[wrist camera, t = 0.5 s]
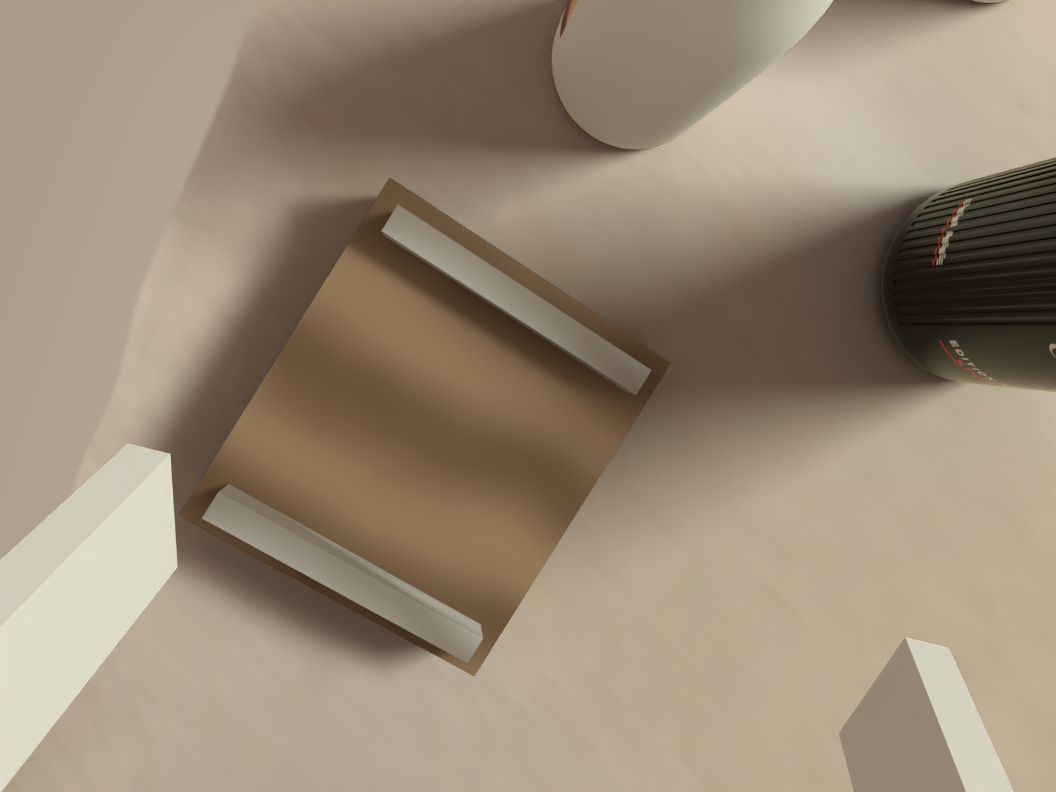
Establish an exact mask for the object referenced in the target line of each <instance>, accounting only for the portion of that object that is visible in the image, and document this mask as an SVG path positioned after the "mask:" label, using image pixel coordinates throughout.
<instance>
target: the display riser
mask: <svg viewBox="0 0 1056 792" xmlns="http://www.w3.org/2000/svg"><path fill="white" fill-rule="evenodd" d="M670 364H671V362H669V361H667V360H666V359H664V358H663V357H661V356H660V355H658V354H657V353H655V352H654V351H652V350H651V349H649V348H648V347H646V346H645V345H643V344H642V343H640V342H639V341H637V340H636V339H634V338H633V337H631V336H630V335H628V334H627V333H625V332H623V331H622V330H620V329H619V328H617V327H616V326H614V325H613V324H611V323H610V322H608V321H607V320H605V319H604V318H602V317H601V316H599V315H598V314H596V313H595V312H593V311H592V310H590V309H589V308H587V307H586V306H584V305H583V304H581V303H579V302H578V301H576V300H575V299H573V298H572V297H570V296H569V295H567V294H566V293H564V292H563V291H561V290H560V289H558V288H557V287H555V286H554V285H552V284H551V283H549V282H548V281H546V280H545V279H543V278H542V277H540V276H539V275H537V274H535V273H534V272H532V271H531V270H529V269H528V268H526V267H525V266H523V265H522V264H520V263H519V262H517V261H516V260H514V259H513V258H511V257H510V256H508V255H507V254H505V253H504V252H502V251H501V250H499V249H498V248H496V247H495V246H493V245H492V244H490V243H488V242H487V241H485V240H484V239H482V238H481V237H479V236H478V235H476V234H475V233H473V232H472V231H470V230H469V229H467V228H466V227H464V226H463V225H461V224H460V223H458V222H457V221H455V220H454V219H452V218H451V217H449V216H448V215H446V214H444V213H443V212H441V211H440V210H438V209H437V208H435V207H434V206H432V205H431V204H429V203H428V202H426V201H425V200H423V199H422V198H420V197H419V196H417V195H416V194H414V193H413V192H411V191H410V190H408V189H407V188H405V187H404V186H402V185H400V184H399V183H397V182H396V181H394V180H393V179H391V178H389V179H388V181H387V183H386V184H385V186H384V187H383V189H382V191H381V192H380V194H379V195H378V197H377V199H376V200H375V202H374V203H373V205H372V207H371V208H370V210H369V211H368V213H367V215H366V216H365V218H364V219H363V221H362V223H361V224H360V226H359V227H358V229H357V231H356V232H355V234H354V236H353V237H352V239H351V240H350V242H349V244H348V245H347V247H346V248H345V250H344V252H343V253H342V255H341V256H340V258H339V260H338V261H337V263H336V264H335V266H334V268H333V269H332V271H331V272H330V274H329V276H328V277H327V279H326V280H325V282H324V284H323V285H322V287H321V288H320V290H319V292H318V293H317V295H316V296H315V298H314V300H313V301H312V303H311V304H310V306H309V308H308V309H307V311H306V312H305V314H304V316H303V317H302V319H301V320H300V322H299V324H298V325H297V327H296V328H295V330H294V332H293V333H292V335H291V336H290V338H289V340H288V341H287V343H286V344H285V346H284V348H283V349H282V351H281V352H280V354H279V356H278V357H277V359H276V360H275V362H274V364H273V365H272V367H271V368H270V370H269V372H268V373H267V375H266V376H265V378H264V380H263V381H262V383H261V384H260V386H259V388H258V389H257V391H256V392H255V394H254V396H253V397H252V399H251V400H250V402H249V404H248V405H247V407H246V408H245V410H244V412H243V413H242V415H241V416H240V418H239V420H238V421H237V423H236V424H235V426H234V428H233V429H232V431H231V432H230V434H229V436H228V437H227V439H226V440H225V442H224V444H223V445H222V447H221V448H220V450H219V452H218V453H217V455H216V456H215V458H214V460H213V461H212V463H211V465H210V466H209V468H208V469H207V471H206V473H205V474H204V476H203V477H202V479H201V481H200V482H199V484H198V485H197V487H196V489H195V490H194V492H193V493H192V495H191V497H190V498H189V500H188V501H187V503H186V505H185V506H184V508H183V509H182V511H181V513H180V514H179V516H180V517H182V518H184V519H186V520H188V521H190V522H192V523H193V524H195V525H197V526H199V527H201V528H203V529H204V530H206V531H208V532H210V533H212V534H214V535H215V536H217V537H219V538H221V539H223V540H225V541H226V542H228V543H230V544H232V545H234V546H236V547H237V548H239V549H241V550H243V551H245V552H247V553H249V554H250V555H252V556H254V557H256V558H258V559H260V560H261V561H263V562H265V563H267V564H269V565H271V566H272V567H274V568H276V569H278V570H280V571H282V572H283V573H285V574H287V575H289V576H291V577H293V578H295V579H296V580H298V581H300V582H302V583H304V584H306V585H307V586H309V587H311V588H313V589H315V590H317V591H318V592H320V593H322V594H324V595H326V596H328V597H329V598H331V599H333V600H335V601H337V602H339V603H341V604H342V605H344V606H346V607H348V608H350V609H352V610H353V611H355V612H357V613H359V614H361V615H363V616H364V617H366V618H368V619H370V620H372V621H374V622H375V623H377V624H379V625H381V626H383V627H385V628H387V629H388V630H390V631H392V632H394V633H396V634H398V635H399V636H401V637H403V638H405V639H407V640H409V641H410V642H412V643H414V644H416V645H418V646H420V647H421V648H423V649H425V650H427V651H429V652H431V653H433V654H434V655H436V656H438V657H440V658H442V659H444V660H445V661H447V662H449V663H451V664H453V665H455V666H456V667H458V668H460V669H462V670H464V671H466V672H467V673H469V674H471V675H473V676H475V674H476V673H477V671H478V670H479V668H480V666H481V665H482V663H483V662H484V660H485V658H486V657H487V655H488V654H489V652H490V650H491V649H492V647H493V646H494V644H495V642H496V641H497V639H498V638H499V636H500V634H501V633H502V631H503V630H504V628H505V626H506V625H507V623H508V622H509V620H510V619H511V617H512V615H513V614H514V612H515V611H516V609H517V607H518V606H519V604H520V603H521V601H522V599H523V598H524V596H525V595H526V593H527V591H528V590H529V588H530V587H531V585H532V583H533V582H534V580H535V579H536V577H537V575H538V574H539V572H540V571H541V569H542V568H543V566H544V564H545V563H546V561H547V560H548V558H549V556H550V555H551V553H552V552H553V550H554V548H555V547H556V545H557V544H558V542H559V540H560V539H561V537H562V536H563V534H564V532H565V531H566V529H567V528H568V526H569V525H570V523H571V521H572V520H573V518H574V517H575V515H576V513H577V512H578V510H579V509H580V507H581V505H582V504H583V502H584V501H585V499H586V497H587V496H588V494H589V493H590V491H591V489H592V488H593V486H594V485H595V483H596V481H597V480H598V478H599V477H600V475H601V474H602V472H603V470H604V469H605V467H606V466H607V464H608V462H609V461H610V459H611V458H612V456H613V454H614V453H615V451H616V450H617V448H618V446H619V445H620V443H621V442H622V440H623V438H624V437H625V435H626V434H627V432H628V430H629V429H630V427H631V426H632V424H633V423H634V421H635V419H636V418H637V416H638V415H639V413H640V411H641V410H642V408H643V407H644V405H645V403H646V402H647V400H648V399H649V397H650V395H651V394H652V392H653V391H654V389H655V387H656V386H657V384H658V383H659V381H660V379H661V378H662V376H663V375H664V373H665V372H666V370H667V368H668V367H669V365H670Z"/></svg>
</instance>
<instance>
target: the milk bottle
mask: <svg viewBox="0 0 1056 792" xmlns="http://www.w3.org/2000/svg"><path fill="white" fill-rule="evenodd" d="M832 1H833V0H568V3H567V5H566V7H565V10H564V12H563V14H562V17H561V19H560V22H559V25H558V28H557V31H556V34H555V38H554V42H553V48H552V72H553V78H554V82H555V86H556V89H557V92H558V95H559V97H560V99H561V102H562V103H563V105H564V107H565V109H566V110H567V112H568V113H569V115H570V116H571V117H572V118H573V120H574V121H575V122H576V123H577V124H578V125H579V126H580V127H581V128H582V129H583V130H584V131H586V132H587V133H588V134H590V135H591V136H593V137H594V138H596V139H598V140H600V141H601V142H604V143H606V144H609V145H612V146H615V147H619V148H624V149H646V148H651V147H655V146H659V145H661V144H664V143H666V142H668V141H671V140H672V139H674V138H676V137H677V136H679V135H680V134H682V133H683V132H685V131H686V130H688V129H689V128H690V127H692V126H693V125H694V124H696V123H697V122H698V121H700V120H701V119H702V118H704V117H705V116H706V115H708V114H709V113H710V112H711V111H713V110H714V109H715V108H717V107H718V106H719V105H721V104H722V103H723V102H725V101H726V100H727V99H728V98H730V97H731V96H732V95H734V94H735V93H736V92H738V91H739V90H740V89H741V88H743V87H744V86H745V85H747V84H748V83H749V82H750V81H752V80H753V79H754V78H755V77H757V76H758V75H759V74H760V73H762V72H763V71H764V70H766V69H767V68H768V67H769V66H771V65H772V64H773V63H774V62H775V61H777V60H778V59H779V58H780V57H781V56H782V55H783V54H784V53H786V52H787V51H788V50H789V49H790V48H791V47H792V46H794V45H795V44H796V43H797V42H798V41H799V40H800V39H801V38H802V37H803V36H805V34H806V33H807V32H808V31H809V30H810V29H811V28H812V27H813V25H814V24H815V23H816V22H817V21H818V20H819V19H820V17H821V16H822V15H823V14H824V13H825V11H826V10H827V9H828V7H829V6H830V4H831V3H832Z"/></svg>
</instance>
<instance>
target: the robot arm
mask: <svg viewBox="0 0 1056 792" xmlns="http://www.w3.org/2000/svg"><path fill="white" fill-rule="evenodd" d="M177 567H178V566H177V550H176V535H175V519H174V503H173V488H172V472H171V456H170V454H169V453H165V452H161V451H157V450H153V449H149V448H145V447H141V446H137V445H133V444H129V443H128V444H127V445H126V446H125V447H124V448H122V449H121V450H120V451H119V452H118V453H117V454H116V455H115V456H114V457H113V458H111V459H110V460H109V461H108V462H107V463H106V464H105V465H104V466H103V467H102V468H101V469H99V470H98V471H97V472H96V473H95V474H94V475H93V476H92V477H91V478H90V479H89V480H87V481H86V482H85V483H84V484H83V485H82V486H81V487H80V488H79V489H78V490H76V491H75V492H74V493H73V494H72V495H71V496H70V497H69V498H68V499H67V500H66V501H64V502H63V503H62V504H61V505H60V506H59V507H58V508H57V509H56V510H55V511H54V512H53V513H51V514H50V515H49V516H48V517H47V518H46V519H45V520H44V521H43V522H41V523H40V524H39V525H38V526H37V527H36V528H35V529H34V530H33V531H32V532H31V533H30V534H28V535H27V536H26V537H25V538H24V539H23V540H22V541H21V542H20V543H19V544H18V545H16V546H15V547H14V548H13V549H12V550H11V551H10V552H9V553H8V554H6V555H5V556H4V557H3V558H2V559H1V560H0V792H2V790H3V789H4V788H5V786H6V785H7V784H8V783H9V781H10V780H11V779H12V778H13V776H14V775H15V774H16V772H17V771H18V770H19V769H20V767H21V766H22V765H23V763H24V762H25V761H26V760H27V758H28V757H29V756H30V755H31V753H32V752H33V751H34V749H35V748H36V747H37V746H38V744H39V743H40V742H41V741H42V739H43V738H44V737H45V735H46V734H47V733H48V732H49V730H50V729H51V728H52V726H53V725H54V724H55V723H56V721H57V720H58V719H59V718H60V716H61V715H62V714H63V712H64V711H65V710H66V709H67V707H68V706H69V705H70V703H71V702H72V701H73V700H74V698H75V697H76V696H77V695H78V693H79V692H80V691H81V689H82V688H83V687H84V686H85V684H86V683H87V682H88V681H89V679H90V678H91V677H92V675H93V674H94V673H95V672H96V670H97V669H98V668H99V666H100V665H101V664H102V663H103V661H104V660H105V659H106V658H107V656H108V655H109V654H110V652H111V651H112V650H113V649H114V647H115V646H116V645H117V644H118V642H119V641H120V640H121V638H122V637H123V636H124V635H125V633H126V632H127V631H128V629H129V628H130V627H131V626H132V624H133V623H134V622H135V621H136V619H137V618H138V617H139V615H140V614H141V613H142V612H143V610H144V609H145V608H146V607H147V605H148V604H149V603H150V601H151V600H152V599H153V598H154V596H155V595H156V594H157V592H158V591H159V590H160V589H161V587H162V586H163V585H164V584H165V582H166V581H167V580H168V578H169V577H170V576H171V575H172V573H173V572H174V571H175V569H176V568H177ZM839 735H840V739H841V743H842V747H843V751H844V755H845V759H846V763H847V767H848V771H849V775H850V778H851V782H852V786H853V790H854V792H1014V791H1013V789H1012V787H1011V785H1010V782H1009V780H1008V778H1007V776H1006V773H1005V771H1004V769H1003V767H1002V765H1001V762H1000V760H999V758H998V756H997V754H996V751H995V749H994V747H993V745H992V742H991V740H990V738H989V736H988V734H987V731H986V729H985V727H984V725H983V722H982V720H981V718H980V716H979V714H978V711H977V709H976V707H975V705H974V703H973V700H972V698H971V696H970V694H969V691H968V689H967V687H966V685H965V683H964V680H963V678H962V676H961V674H960V671H959V669H958V667H957V665H956V663H955V660H954V658H953V656H952V654H951V651H950V649H949V648H947V647H943V646H939V645H935V644H931V643H927V642H923V641H919V640H915V639H911V638H907V637H905V638H904V640H903V641H902V643H901V644H900V645H899V647H898V648H897V650H896V651H895V653H894V654H893V656H892V657H891V659H890V660H889V661H888V663H887V664H886V666H885V667H884V669H883V670H882V672H881V673H880V675H879V676H878V677H877V679H876V680H875V682H874V683H873V685H872V686H871V688H870V689H869V691H868V692H867V693H866V695H865V696H864V698H863V699H862V701H861V702H860V704H859V705H858V706H857V708H856V709H855V711H854V712H853V714H852V715H851V717H850V718H849V720H848V721H847V722H846V724H845V725H844V727H843V728H842V730H841V731H840V733H839Z"/></svg>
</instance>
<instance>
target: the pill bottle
mask: <svg viewBox="0 0 1056 792" xmlns="http://www.w3.org/2000/svg"><path fill="white" fill-rule="evenodd" d="M973 1H977V2H984V3H997V2H1004V1H1008V0H973Z"/></svg>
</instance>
